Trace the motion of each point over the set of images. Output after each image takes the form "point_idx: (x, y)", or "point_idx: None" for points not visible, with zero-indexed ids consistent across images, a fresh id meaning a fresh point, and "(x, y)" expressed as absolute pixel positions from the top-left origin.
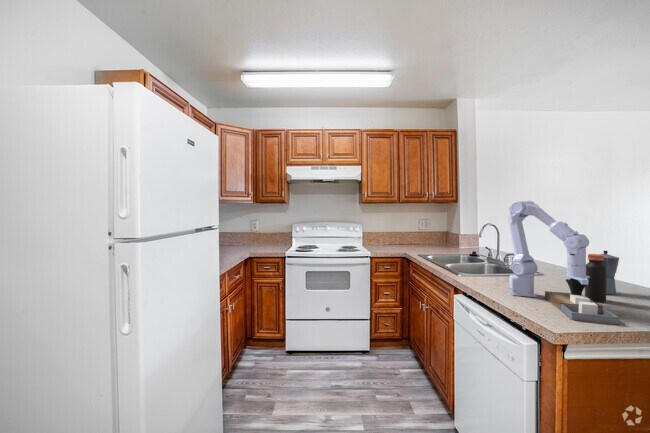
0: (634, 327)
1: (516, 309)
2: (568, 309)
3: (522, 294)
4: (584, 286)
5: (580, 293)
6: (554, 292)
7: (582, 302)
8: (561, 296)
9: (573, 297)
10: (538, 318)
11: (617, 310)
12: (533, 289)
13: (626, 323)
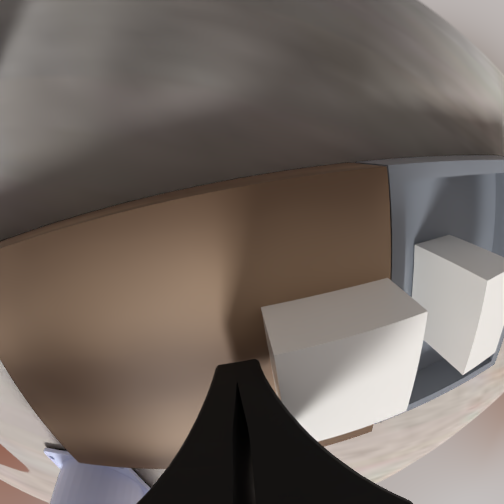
0: (496, 96)
1: (380, 476)
2: (460, 382)
3: (142, 492)
4: (366, 484)
5: (276, 405)
6: (62, 432)
7: (478, 354)
8: (156, 429)
9: (367, 419)
10: (459, 419)
11: (137, 20)
12: (97, 491)
13: (464, 96)
